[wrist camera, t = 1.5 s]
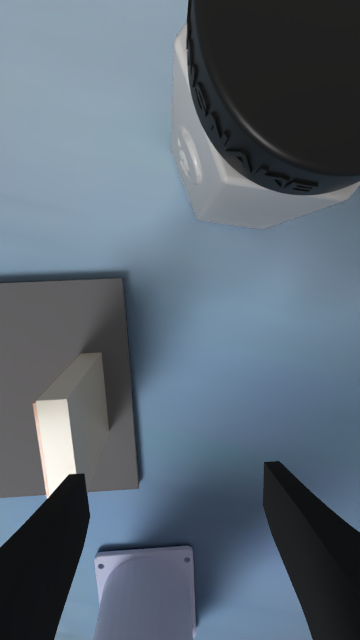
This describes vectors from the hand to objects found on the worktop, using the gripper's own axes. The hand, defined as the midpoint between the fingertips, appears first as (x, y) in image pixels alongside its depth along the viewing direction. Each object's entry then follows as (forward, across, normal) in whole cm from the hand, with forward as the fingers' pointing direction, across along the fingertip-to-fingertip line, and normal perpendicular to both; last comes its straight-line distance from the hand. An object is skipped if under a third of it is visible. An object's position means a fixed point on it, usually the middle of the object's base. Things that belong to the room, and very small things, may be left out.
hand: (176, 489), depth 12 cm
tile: (+9, +6, 0) cm, 11 cm away
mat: (+10, +11, 0) cm, 15 cm away
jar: (+10, -5, -15) cm, 19 cm away
